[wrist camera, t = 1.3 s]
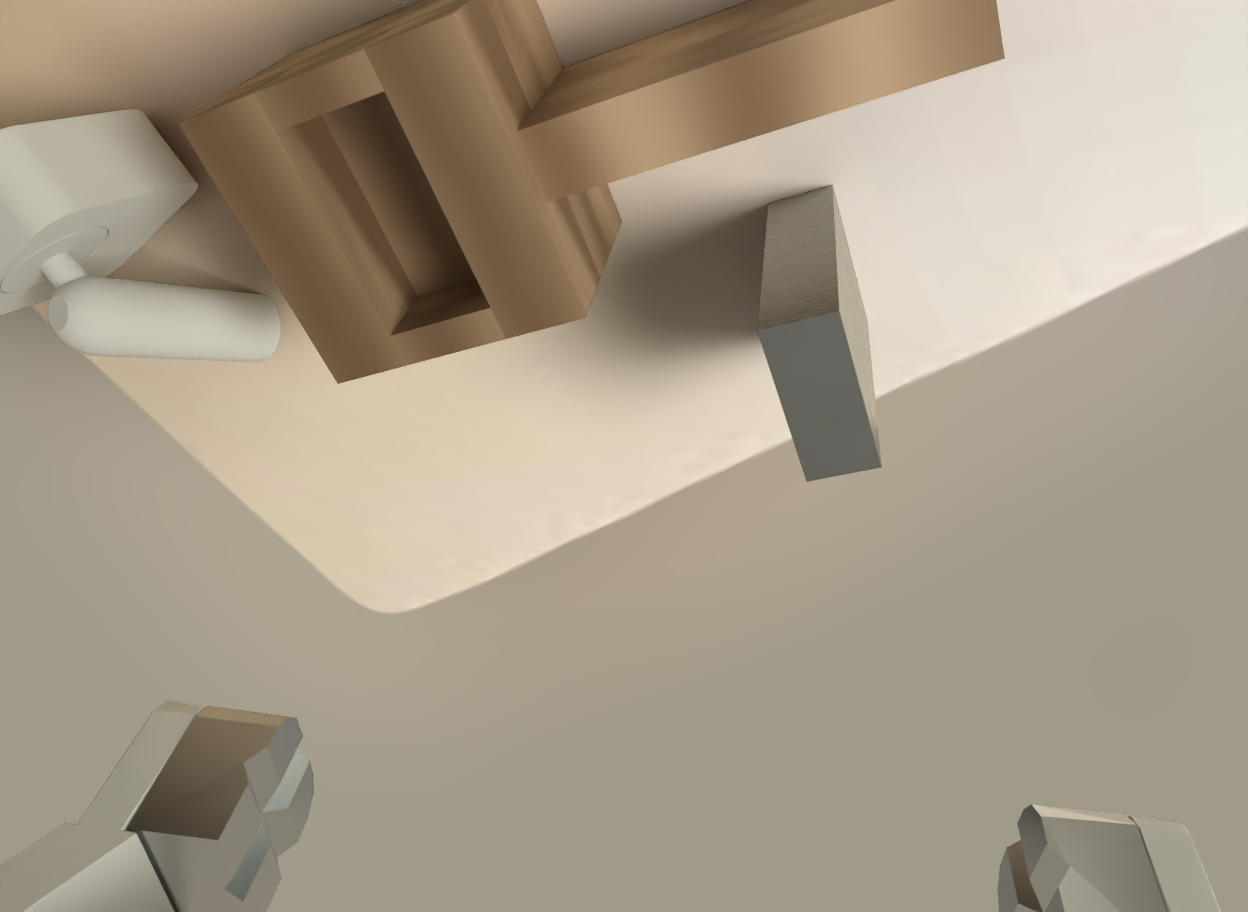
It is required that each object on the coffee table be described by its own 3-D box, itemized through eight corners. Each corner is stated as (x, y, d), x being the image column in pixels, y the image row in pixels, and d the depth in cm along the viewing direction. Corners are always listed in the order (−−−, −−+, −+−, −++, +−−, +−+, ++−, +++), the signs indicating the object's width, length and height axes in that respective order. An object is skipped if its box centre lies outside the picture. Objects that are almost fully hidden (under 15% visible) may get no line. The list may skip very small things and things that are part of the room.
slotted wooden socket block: (937, -211, 29) (973, -195, 22) (987, 112, 34) (1029, 199, 28) (286, 55, 37) (177, 123, 30) (409, 284, 42) (337, 383, 35)
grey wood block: (832, 184, 36) (839, 310, 28) (867, 320, 39) (881, 467, 32) (768, 203, 37) (757, 330, 29) (807, 334, 40) (806, 481, 32)
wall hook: (233, 389, 46) (68, 481, 37) (89, 206, 44) (-121, 257, 35) (340, 305, 42) (184, 384, 34) (187, 99, 40) (-21, 128, 32)
